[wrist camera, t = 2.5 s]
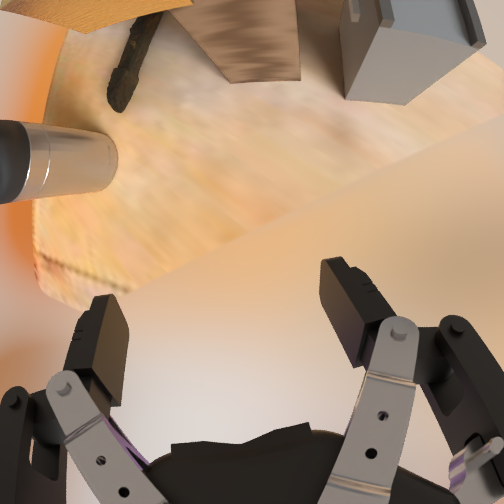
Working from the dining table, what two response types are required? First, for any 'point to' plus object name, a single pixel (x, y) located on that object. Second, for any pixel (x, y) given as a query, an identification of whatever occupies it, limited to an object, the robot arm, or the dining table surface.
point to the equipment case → (404, 45)
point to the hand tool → (131, 61)
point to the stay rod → (88, 11)
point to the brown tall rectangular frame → (246, 37)
